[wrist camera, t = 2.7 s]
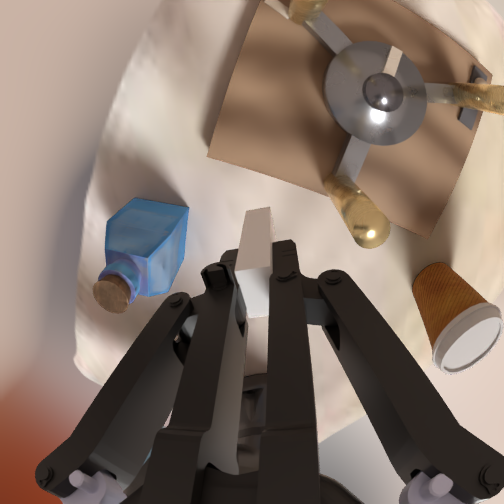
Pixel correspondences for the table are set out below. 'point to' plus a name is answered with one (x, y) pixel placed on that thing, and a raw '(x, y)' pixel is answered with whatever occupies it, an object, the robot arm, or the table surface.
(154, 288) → the perfume bottle
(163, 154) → the table surface
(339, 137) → the stand
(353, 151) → the capstan
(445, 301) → the disposable coffee cup
